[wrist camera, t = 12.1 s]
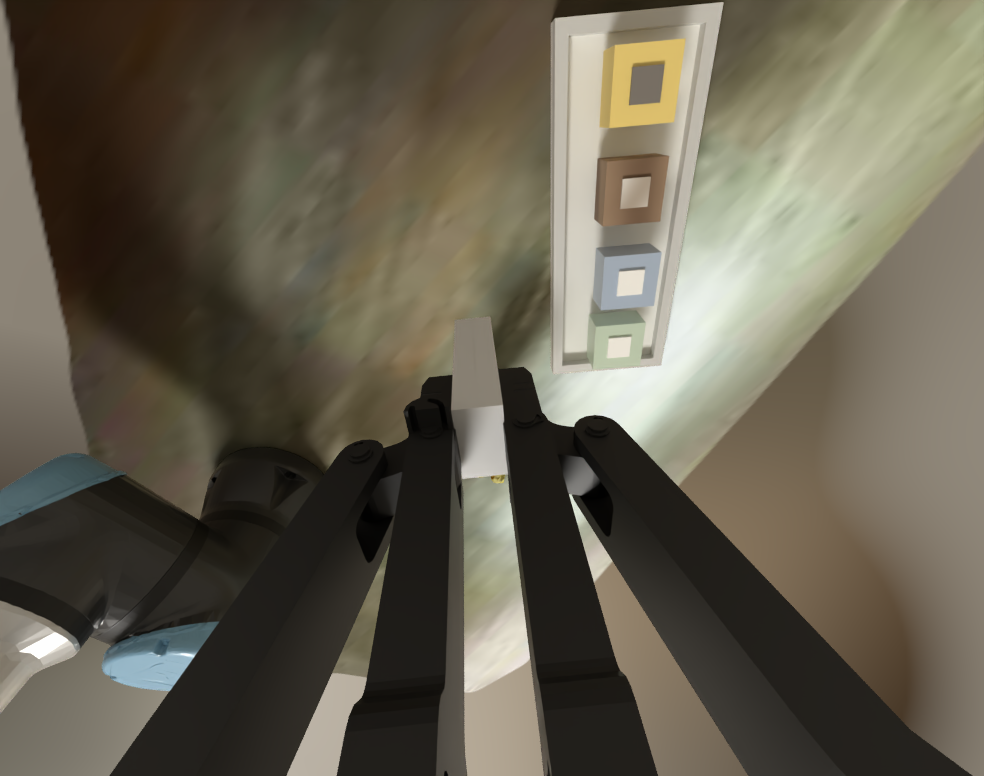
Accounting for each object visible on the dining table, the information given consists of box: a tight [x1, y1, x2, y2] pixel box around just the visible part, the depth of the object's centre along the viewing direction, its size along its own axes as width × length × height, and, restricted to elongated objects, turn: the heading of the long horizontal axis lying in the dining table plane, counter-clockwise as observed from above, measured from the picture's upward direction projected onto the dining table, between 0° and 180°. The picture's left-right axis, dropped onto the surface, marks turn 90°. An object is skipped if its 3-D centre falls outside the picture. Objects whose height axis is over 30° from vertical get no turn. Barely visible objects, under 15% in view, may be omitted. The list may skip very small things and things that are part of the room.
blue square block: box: [593, 243, 662, 310], centre depth 37 cm, size 5×5×3 cm
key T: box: [594, 153, 669, 227], centre depth 34 cm, size 5×5×3 cm
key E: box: [586, 310, 646, 370], centre depth 42 cm, size 5×5×3 cm
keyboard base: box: [550, 2, 724, 374], centre depth 39 cm, size 12×30×2 cm, turn 4°
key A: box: [599, 38, 686, 128], centre depth 31 cm, size 5×5×3 cm
